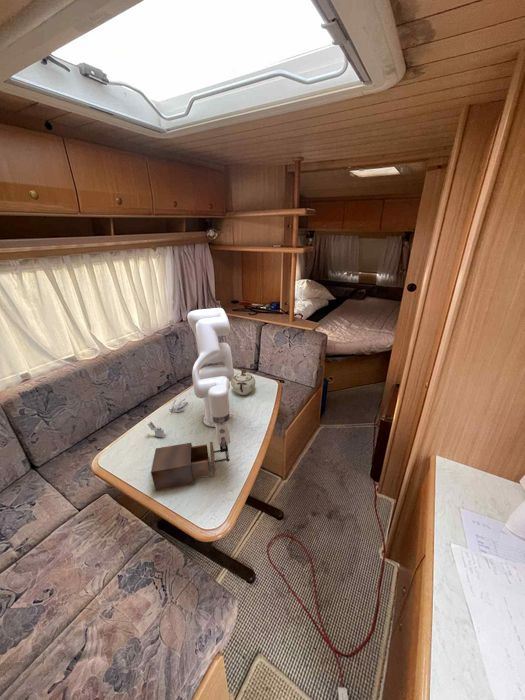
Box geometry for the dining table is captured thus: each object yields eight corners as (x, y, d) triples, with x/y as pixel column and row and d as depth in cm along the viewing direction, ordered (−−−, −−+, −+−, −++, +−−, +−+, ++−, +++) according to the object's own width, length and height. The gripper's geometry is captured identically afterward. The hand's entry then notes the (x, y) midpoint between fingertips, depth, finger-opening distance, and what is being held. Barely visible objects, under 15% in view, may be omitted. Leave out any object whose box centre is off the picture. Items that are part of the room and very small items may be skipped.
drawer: (228, 453, 123) (226, 439, 119) (231, 473, 112) (229, 458, 109) (183, 461, 119) (180, 446, 116) (181, 483, 109) (178, 467, 106)
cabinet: (194, 460, 121) (191, 442, 117) (193, 483, 110) (190, 464, 106) (159, 466, 118) (155, 448, 114) (155, 490, 107) (150, 472, 103)
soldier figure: (190, 406, 160) (178, 412, 149) (185, 411, 161) (173, 417, 150) (183, 395, 161) (170, 401, 150) (178, 400, 162) (165, 406, 151)
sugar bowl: (234, 383, 181) (233, 363, 175) (257, 383, 180) (256, 363, 174) (229, 400, 163) (227, 378, 157) (254, 400, 162) (253, 378, 156)
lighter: (165, 435, 136) (162, 422, 133) (163, 437, 135) (160, 424, 132) (152, 433, 138) (149, 421, 134) (150, 436, 136) (147, 423, 133)
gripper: (232, 426, 101) (235, 462, 109) (228, 403, 115) (231, 436, 122) (211, 429, 100) (216, 466, 108) (210, 405, 113) (214, 439, 121)
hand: (224, 450), depth 115 cm, fingers closed
